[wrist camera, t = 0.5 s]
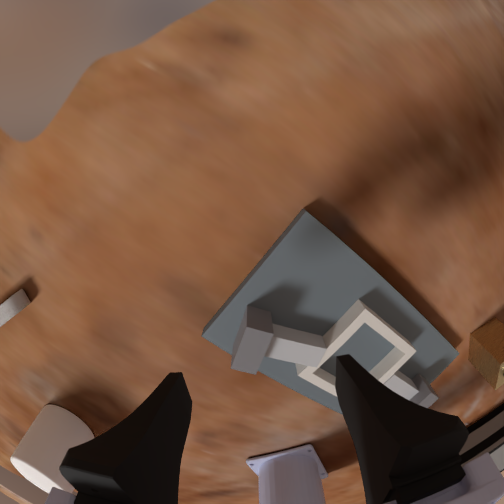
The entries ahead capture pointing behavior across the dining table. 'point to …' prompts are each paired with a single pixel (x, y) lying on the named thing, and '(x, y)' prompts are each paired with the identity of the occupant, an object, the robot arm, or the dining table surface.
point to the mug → (49, 447)
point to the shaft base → (326, 321)
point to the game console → (486, 439)
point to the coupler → (488, 352)
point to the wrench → (13, 306)
